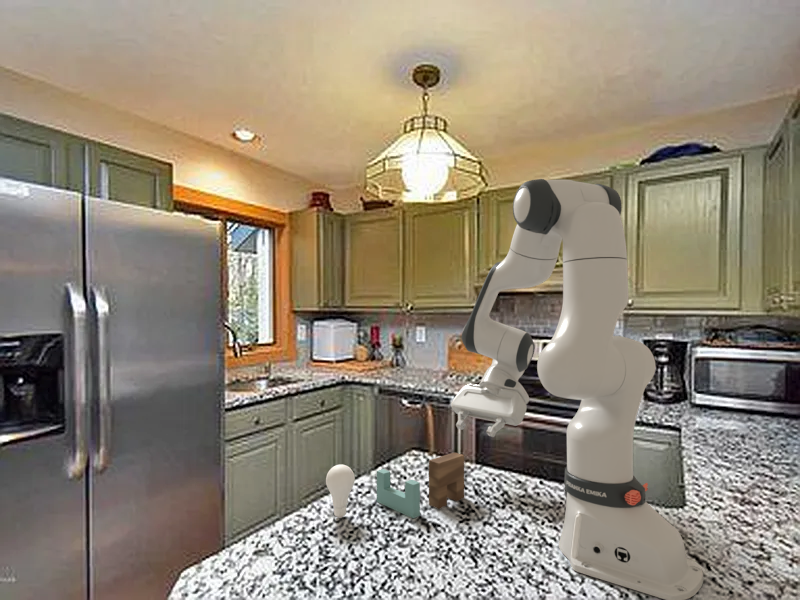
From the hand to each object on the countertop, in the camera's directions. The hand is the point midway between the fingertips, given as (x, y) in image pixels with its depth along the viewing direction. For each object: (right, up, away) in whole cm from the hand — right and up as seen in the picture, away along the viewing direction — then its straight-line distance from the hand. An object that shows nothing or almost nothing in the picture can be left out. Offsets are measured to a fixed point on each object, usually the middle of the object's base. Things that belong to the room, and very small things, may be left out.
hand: (474, 431), depth 112 cm
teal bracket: (-19, -14, -12) cm, 26 cm away
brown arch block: (-8, -14, -8) cm, 18 cm away
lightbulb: (-31, -14, -16) cm, 38 cm away
